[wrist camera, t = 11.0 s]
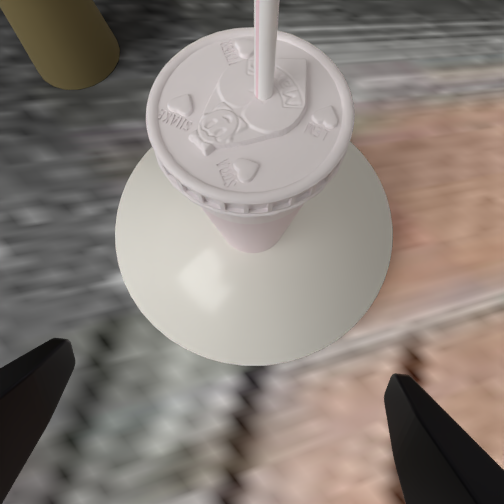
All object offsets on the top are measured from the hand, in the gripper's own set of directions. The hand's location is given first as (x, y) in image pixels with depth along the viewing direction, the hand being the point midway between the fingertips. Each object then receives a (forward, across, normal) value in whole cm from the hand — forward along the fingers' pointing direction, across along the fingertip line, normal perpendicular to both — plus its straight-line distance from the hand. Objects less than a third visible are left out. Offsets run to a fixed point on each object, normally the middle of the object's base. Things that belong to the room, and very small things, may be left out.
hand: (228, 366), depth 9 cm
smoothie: (+11, 0, +1) cm, 11 cm away
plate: (+12, 0, +1) cm, 12 cm away
